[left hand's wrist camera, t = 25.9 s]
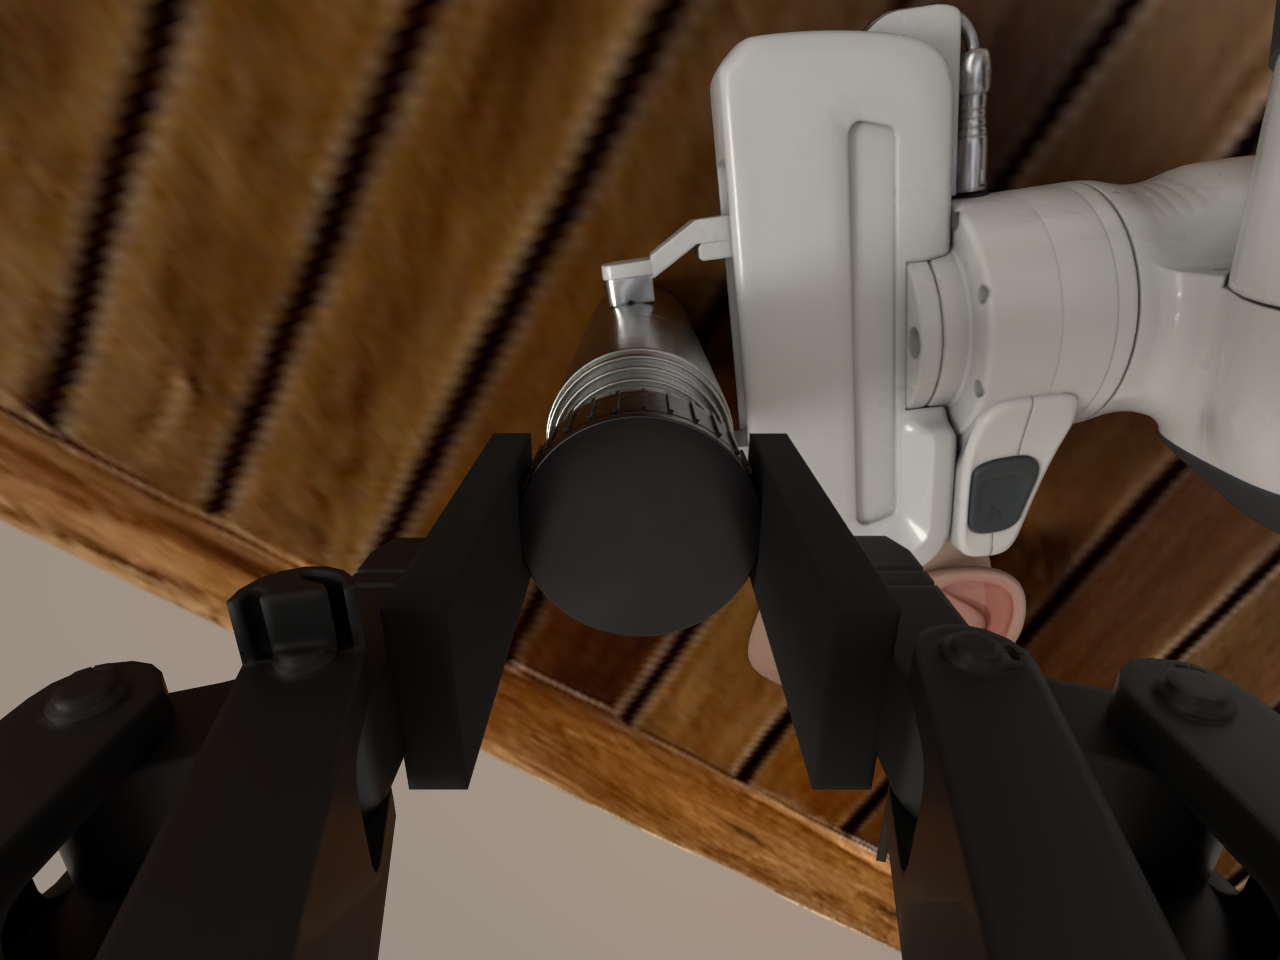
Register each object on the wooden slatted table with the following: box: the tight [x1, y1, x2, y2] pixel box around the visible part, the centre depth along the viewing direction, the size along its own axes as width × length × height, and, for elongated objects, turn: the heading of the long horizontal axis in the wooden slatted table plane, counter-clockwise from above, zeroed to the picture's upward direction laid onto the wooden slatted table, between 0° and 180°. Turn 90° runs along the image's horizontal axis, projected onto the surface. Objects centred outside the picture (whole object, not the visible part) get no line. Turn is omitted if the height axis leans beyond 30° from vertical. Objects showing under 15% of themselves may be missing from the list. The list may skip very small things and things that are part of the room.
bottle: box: [546, 285, 734, 441], centre depth 23 cm, size 5×5×20 cm
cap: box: [519, 388, 762, 636], centre depth 13 cm, size 5×5×2 cm
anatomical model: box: [748, 541, 1026, 685], centre depth 36 cm, size 13×4×12 cm
